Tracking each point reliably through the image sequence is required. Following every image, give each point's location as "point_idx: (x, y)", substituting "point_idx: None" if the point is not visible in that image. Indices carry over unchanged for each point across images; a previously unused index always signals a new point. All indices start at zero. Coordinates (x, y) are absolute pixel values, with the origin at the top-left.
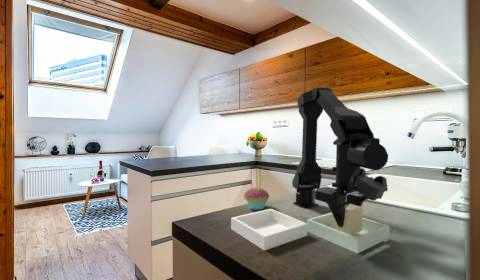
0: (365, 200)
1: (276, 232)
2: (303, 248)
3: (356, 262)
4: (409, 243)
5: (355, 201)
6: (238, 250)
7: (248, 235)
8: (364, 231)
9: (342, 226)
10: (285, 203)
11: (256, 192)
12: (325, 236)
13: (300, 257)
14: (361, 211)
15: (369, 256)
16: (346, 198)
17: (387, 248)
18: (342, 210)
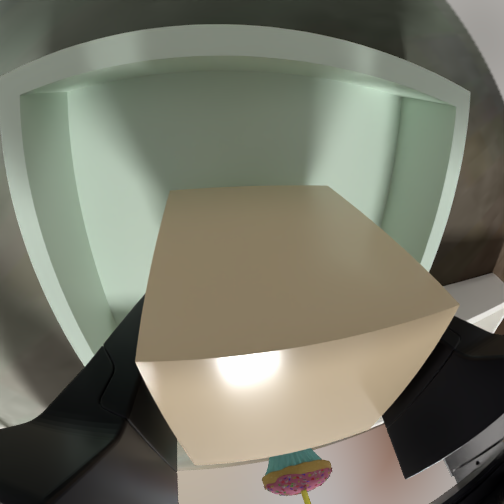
0: (12, 449)
1: (498, 307)
2: (454, 247)
3: (443, 74)
4: (18, 21)
5: (145, 469)
6: None
7: None
8: (97, 213)
9: None
10: (183, 457)
11: (319, 482)
12: None
13: (489, 216)
14: (174, 301)
15: (369, 40)
16: (173, 495)
17: (184, 9)
18: (476, 330)
